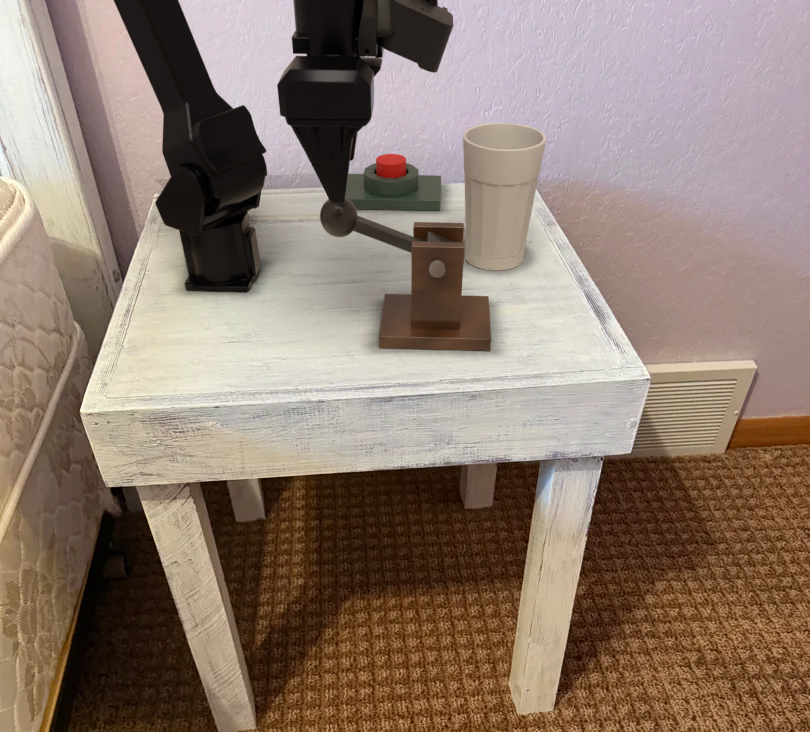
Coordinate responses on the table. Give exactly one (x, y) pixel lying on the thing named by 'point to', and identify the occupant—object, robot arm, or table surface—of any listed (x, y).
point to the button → (391, 166)
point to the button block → (394, 190)
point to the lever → (366, 226)
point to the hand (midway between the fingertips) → (342, 180)
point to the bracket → (436, 299)
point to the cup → (499, 191)
